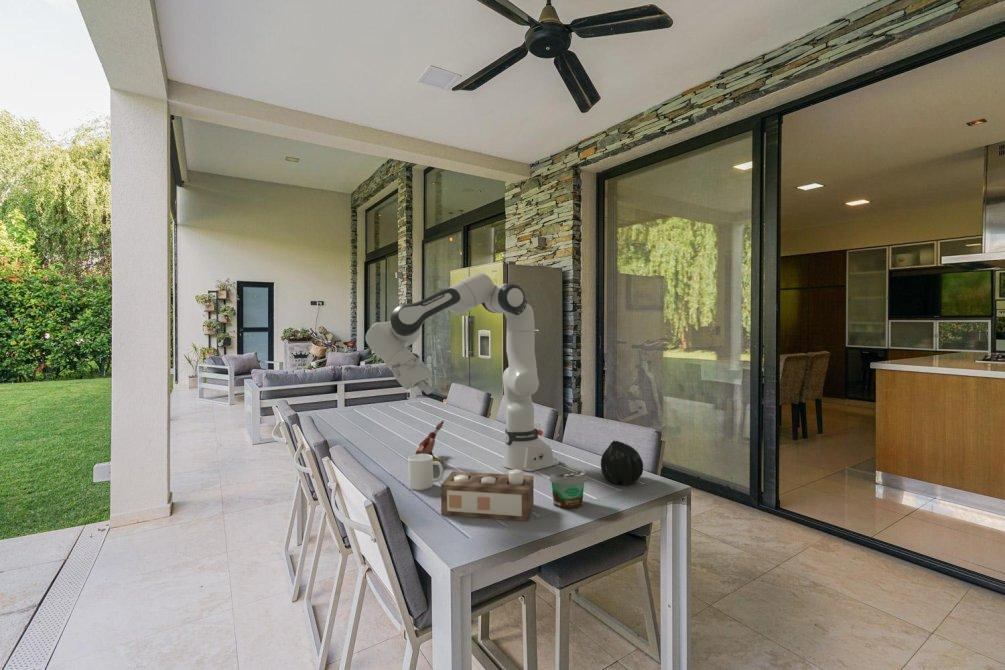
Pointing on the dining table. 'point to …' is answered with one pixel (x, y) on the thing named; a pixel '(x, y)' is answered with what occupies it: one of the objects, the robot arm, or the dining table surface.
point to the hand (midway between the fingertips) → (430, 392)
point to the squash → (621, 463)
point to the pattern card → (484, 503)
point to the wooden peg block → (498, 487)
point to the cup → (422, 471)
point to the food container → (568, 489)
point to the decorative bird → (429, 443)
